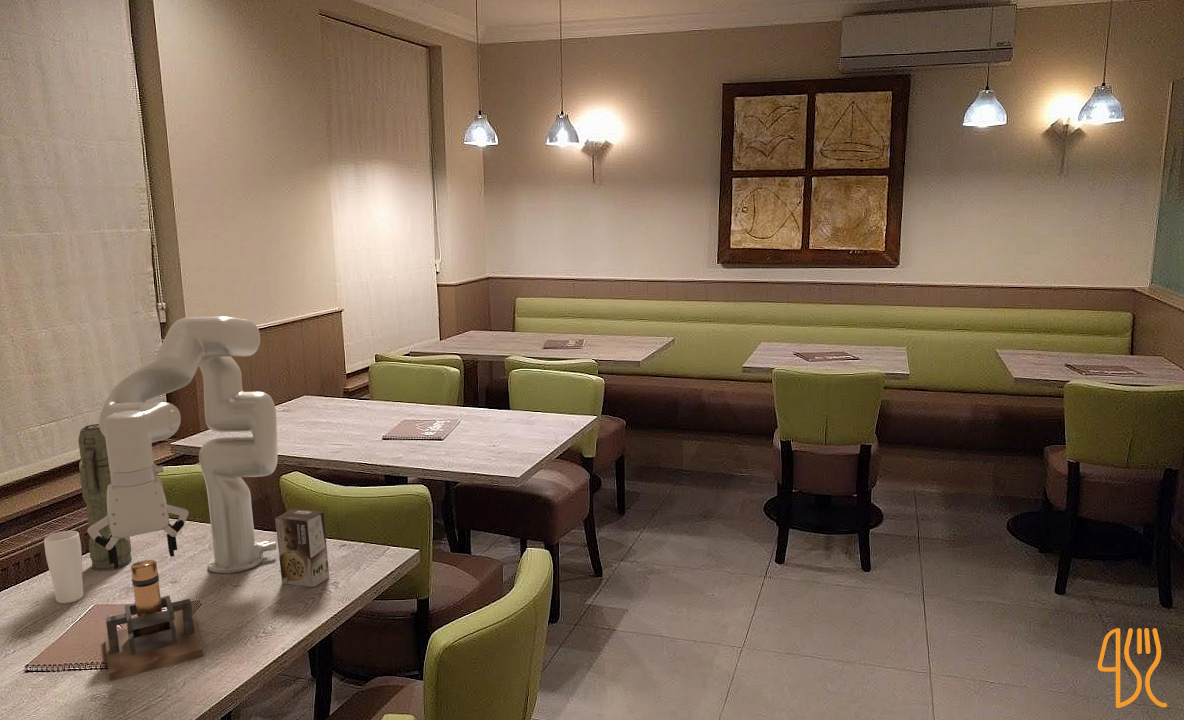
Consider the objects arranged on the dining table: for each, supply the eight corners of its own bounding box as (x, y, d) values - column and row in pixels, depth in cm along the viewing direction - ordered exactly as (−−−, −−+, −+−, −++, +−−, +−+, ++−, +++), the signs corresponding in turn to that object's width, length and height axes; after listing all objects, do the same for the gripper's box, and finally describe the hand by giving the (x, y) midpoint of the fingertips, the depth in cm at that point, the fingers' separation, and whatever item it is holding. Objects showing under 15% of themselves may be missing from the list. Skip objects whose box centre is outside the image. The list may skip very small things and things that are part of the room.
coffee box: (330, 576, 201) (325, 511, 198) (313, 588, 195) (307, 520, 192) (298, 572, 204) (292, 507, 201) (280, 583, 198) (274, 517, 195)
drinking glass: (71, 607, 188) (62, 542, 186) (45, 605, 190) (36, 540, 187) (94, 593, 195) (86, 531, 192) (69, 591, 196) (60, 529, 194)
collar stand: (192, 619, 181) (187, 582, 179) (203, 655, 166) (199, 614, 164) (105, 640, 173) (100, 601, 171) (109, 680, 157) (103, 637, 156)
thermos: (84, 575, 205) (66, 433, 200) (99, 556, 217) (82, 422, 211) (125, 570, 208) (108, 430, 202) (137, 552, 219) (121, 419, 213)
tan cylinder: (164, 633, 172) (155, 557, 169) (167, 642, 168) (157, 565, 165) (139, 639, 170) (129, 563, 167) (140, 649, 166) (131, 571, 163)
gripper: (180, 462, 171) (190, 543, 174) (80, 479, 162) (92, 564, 165) (185, 472, 164) (195, 556, 168) (81, 490, 156) (93, 578, 159)
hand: (144, 560), depth 166 cm, fingers open, 9 cm apart
